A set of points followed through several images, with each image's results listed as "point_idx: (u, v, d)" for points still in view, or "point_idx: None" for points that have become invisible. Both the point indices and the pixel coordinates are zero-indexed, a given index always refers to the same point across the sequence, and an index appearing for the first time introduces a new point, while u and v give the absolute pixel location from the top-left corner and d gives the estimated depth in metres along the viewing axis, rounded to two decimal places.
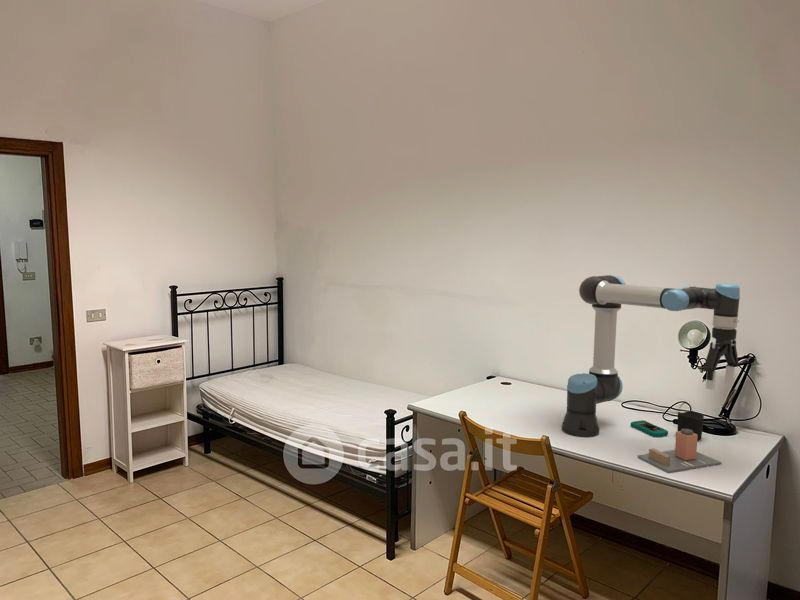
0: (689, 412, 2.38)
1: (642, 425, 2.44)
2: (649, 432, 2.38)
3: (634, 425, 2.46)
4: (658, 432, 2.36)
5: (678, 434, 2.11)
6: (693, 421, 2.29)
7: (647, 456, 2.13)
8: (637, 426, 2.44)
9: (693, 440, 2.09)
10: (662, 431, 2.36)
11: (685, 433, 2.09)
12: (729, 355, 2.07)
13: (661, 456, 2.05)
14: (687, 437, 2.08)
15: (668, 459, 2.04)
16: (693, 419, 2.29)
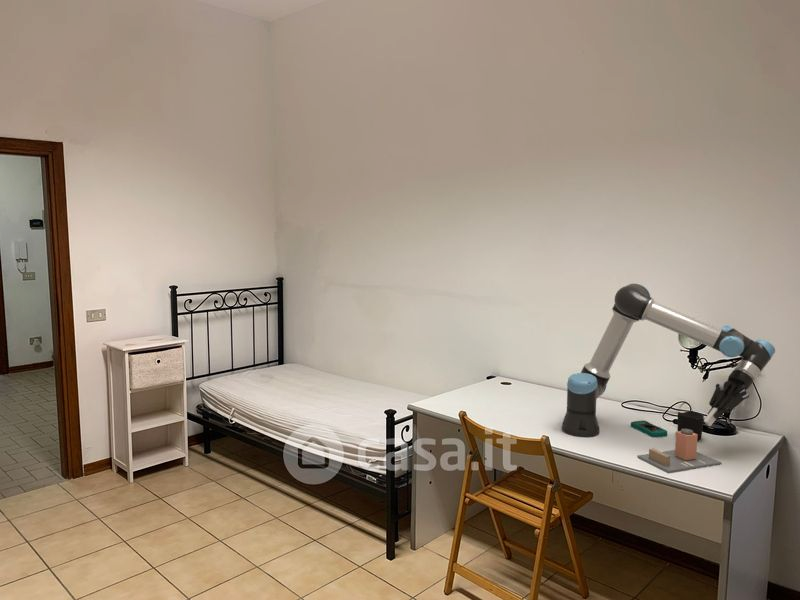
0: (689, 412, 2.38)
1: (642, 425, 2.44)
2: (648, 432, 2.38)
3: (634, 425, 2.46)
4: (657, 432, 2.36)
5: (678, 434, 2.11)
6: (693, 421, 2.29)
7: (647, 456, 2.13)
8: (637, 426, 2.45)
9: (693, 440, 2.09)
10: (661, 431, 2.36)
11: (685, 433, 2.09)
12: (726, 398, 2.16)
13: (661, 456, 2.05)
14: (687, 437, 2.08)
15: (668, 459, 2.04)
16: (693, 419, 2.29)
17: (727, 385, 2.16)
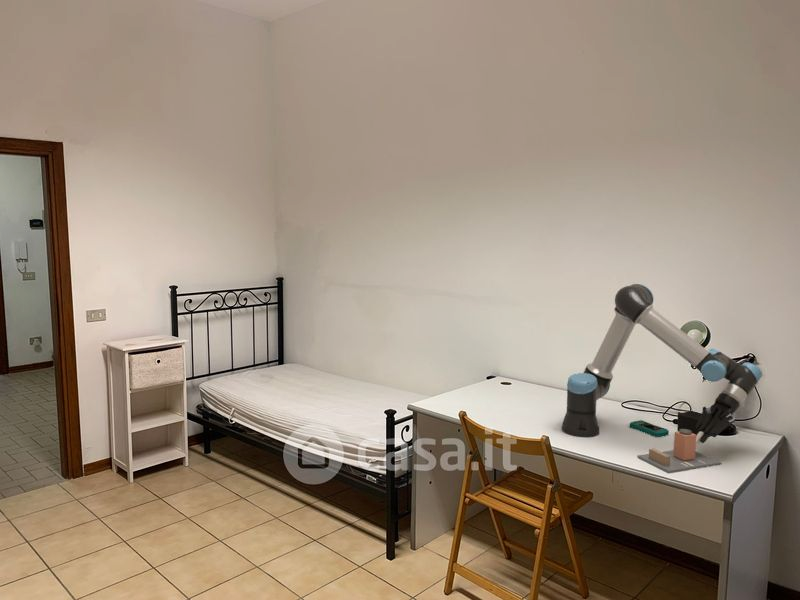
0: (689, 412, 2.38)
1: (642, 425, 2.44)
2: (651, 432, 2.38)
3: (633, 425, 2.46)
4: (660, 432, 2.36)
5: (677, 434, 2.11)
6: (693, 421, 2.29)
7: (647, 456, 2.13)
8: (637, 426, 2.44)
9: (692, 440, 2.08)
10: (663, 430, 2.37)
11: (684, 433, 2.09)
12: None
13: (661, 456, 2.05)
14: (686, 437, 2.07)
15: (668, 459, 2.04)
16: (693, 419, 2.29)
17: (714, 409, 2.15)
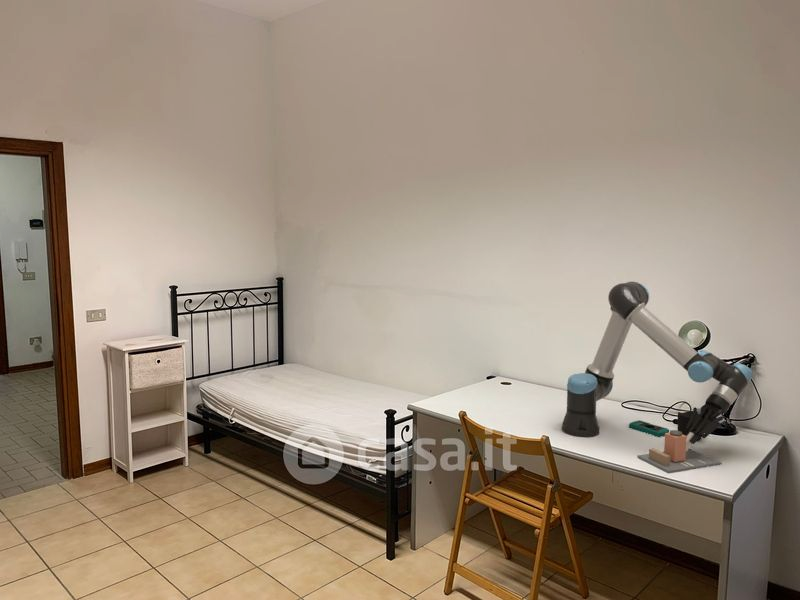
0: (689, 412, 2.38)
1: (642, 425, 2.44)
2: (653, 432, 2.38)
3: (633, 426, 2.45)
4: (662, 431, 2.36)
5: (667, 436, 2.09)
6: None
7: (647, 456, 2.13)
8: (637, 427, 2.44)
9: (682, 442, 2.07)
10: (665, 430, 2.37)
11: (674, 435, 2.07)
12: None
13: (661, 456, 2.05)
14: (676, 439, 2.06)
15: (668, 459, 2.04)
16: None
17: (704, 409, 2.14)
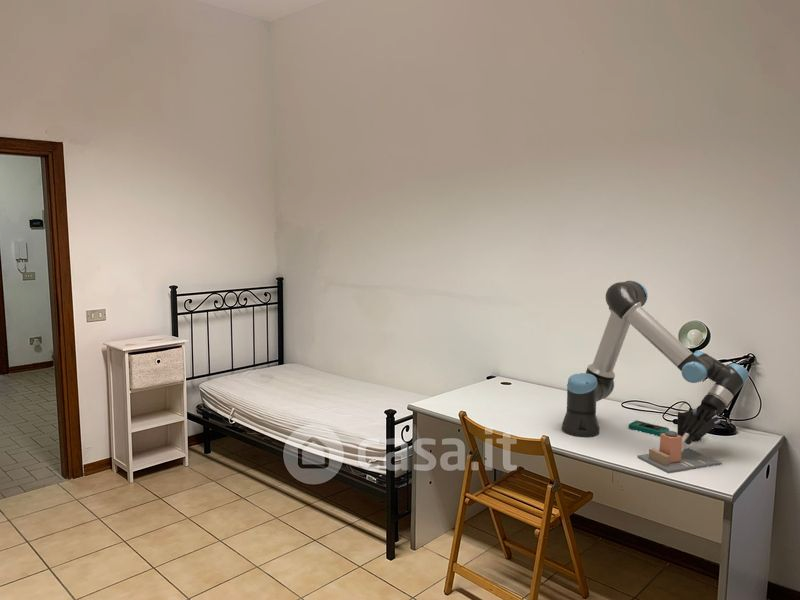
0: None
1: (642, 426, 2.43)
2: (655, 432, 2.38)
3: (634, 427, 2.44)
4: (664, 431, 2.37)
5: (662, 436, 2.09)
6: None
7: (647, 456, 2.13)
8: (638, 427, 2.43)
9: (678, 442, 2.06)
10: (666, 429, 2.38)
11: (669, 435, 2.07)
12: None
13: (661, 456, 2.05)
14: (671, 439, 2.05)
15: (668, 459, 2.04)
16: None
17: (700, 410, 2.13)
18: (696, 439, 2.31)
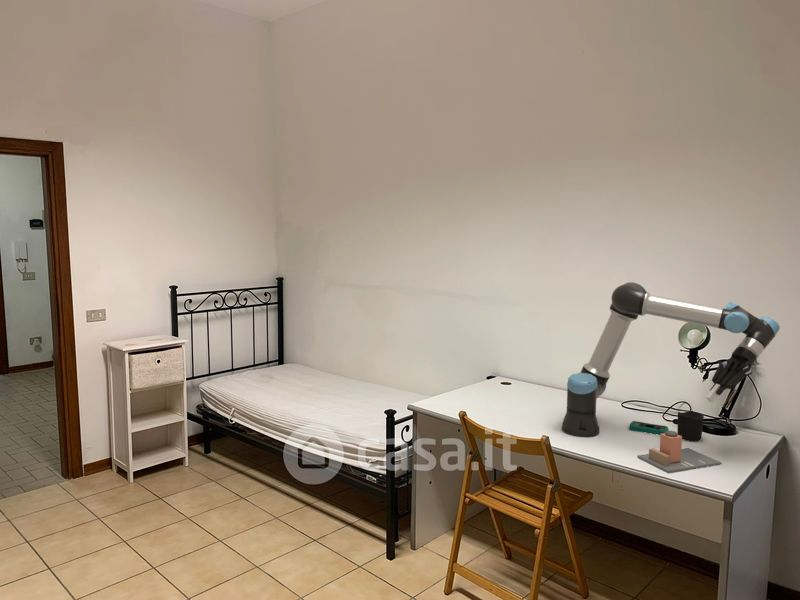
0: (689, 412, 2.38)
1: (643, 426, 2.43)
2: (658, 432, 2.38)
3: (635, 428, 2.43)
4: (666, 430, 2.38)
5: (662, 436, 2.09)
6: (693, 421, 2.29)
7: (647, 456, 2.13)
8: (640, 428, 2.42)
9: (678, 442, 2.06)
10: (667, 428, 2.40)
11: (669, 435, 2.07)
12: None
13: (661, 456, 2.05)
14: (671, 439, 2.05)
15: (668, 459, 2.04)
16: (693, 419, 2.29)
17: (730, 362, 2.15)
18: (696, 439, 2.31)
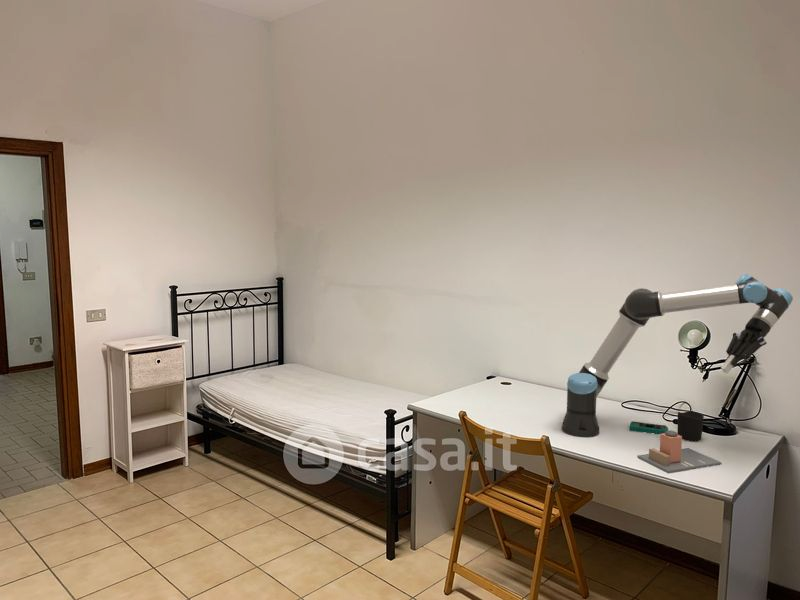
0: (689, 412, 2.38)
1: (643, 426, 2.42)
2: (659, 431, 2.39)
3: (636, 428, 2.42)
4: (667, 429, 2.39)
5: (662, 436, 2.09)
6: (693, 421, 2.29)
7: (647, 456, 2.13)
8: (640, 428, 2.42)
9: (678, 442, 2.06)
10: (667, 427, 2.41)
11: (669, 435, 2.07)
12: (743, 346, 2.16)
13: (661, 456, 2.05)
14: (671, 439, 2.05)
15: (668, 459, 2.04)
16: (693, 419, 2.29)
17: (744, 333, 2.16)
18: (696, 439, 2.31)
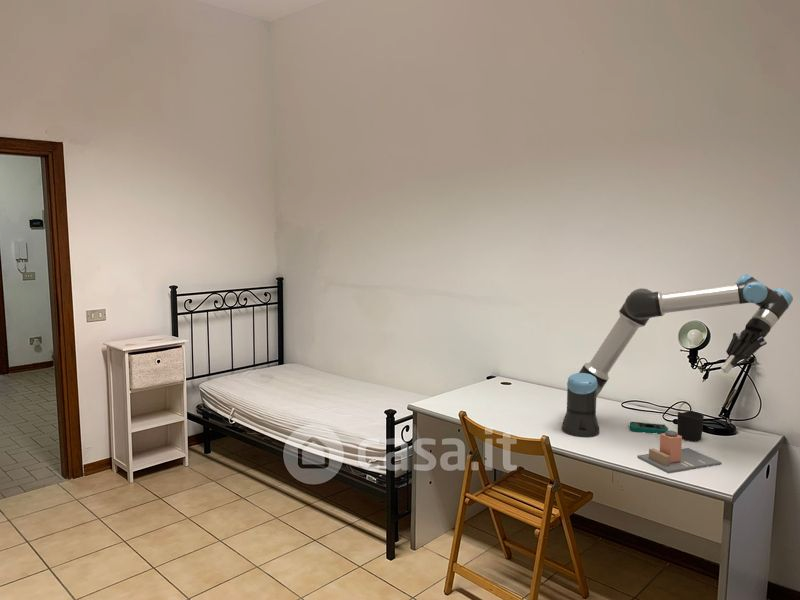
0: (689, 412, 2.38)
1: (644, 426, 2.42)
2: (660, 431, 2.39)
3: (637, 429, 2.42)
4: (667, 428, 2.40)
5: (662, 436, 2.09)
6: (693, 421, 2.29)
7: (647, 456, 2.13)
8: (641, 429, 2.41)
9: (678, 442, 2.06)
10: (666, 426, 2.42)
11: (669, 435, 2.07)
12: (743, 346, 2.16)
13: (661, 456, 2.05)
14: (671, 439, 2.05)
15: (668, 459, 2.04)
16: (693, 419, 2.29)
17: (744, 333, 2.16)
18: (696, 439, 2.31)
